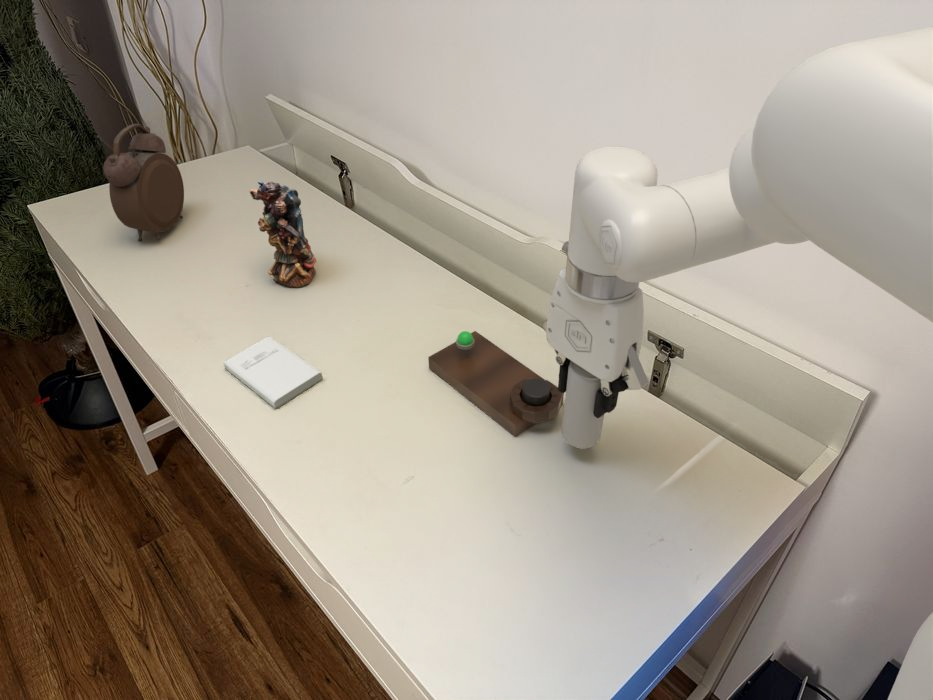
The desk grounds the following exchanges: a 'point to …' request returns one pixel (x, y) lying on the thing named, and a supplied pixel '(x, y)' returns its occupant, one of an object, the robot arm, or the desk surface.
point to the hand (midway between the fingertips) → (586, 397)
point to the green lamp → (465, 340)
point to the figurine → (285, 234)
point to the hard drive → (273, 371)
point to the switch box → (494, 383)
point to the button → (535, 392)
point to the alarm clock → (144, 183)
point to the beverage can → (581, 409)
